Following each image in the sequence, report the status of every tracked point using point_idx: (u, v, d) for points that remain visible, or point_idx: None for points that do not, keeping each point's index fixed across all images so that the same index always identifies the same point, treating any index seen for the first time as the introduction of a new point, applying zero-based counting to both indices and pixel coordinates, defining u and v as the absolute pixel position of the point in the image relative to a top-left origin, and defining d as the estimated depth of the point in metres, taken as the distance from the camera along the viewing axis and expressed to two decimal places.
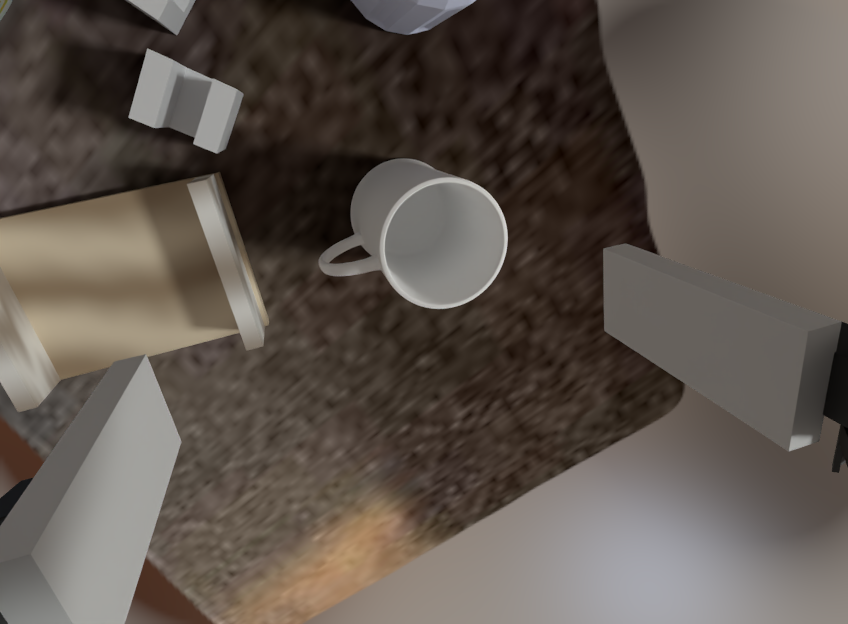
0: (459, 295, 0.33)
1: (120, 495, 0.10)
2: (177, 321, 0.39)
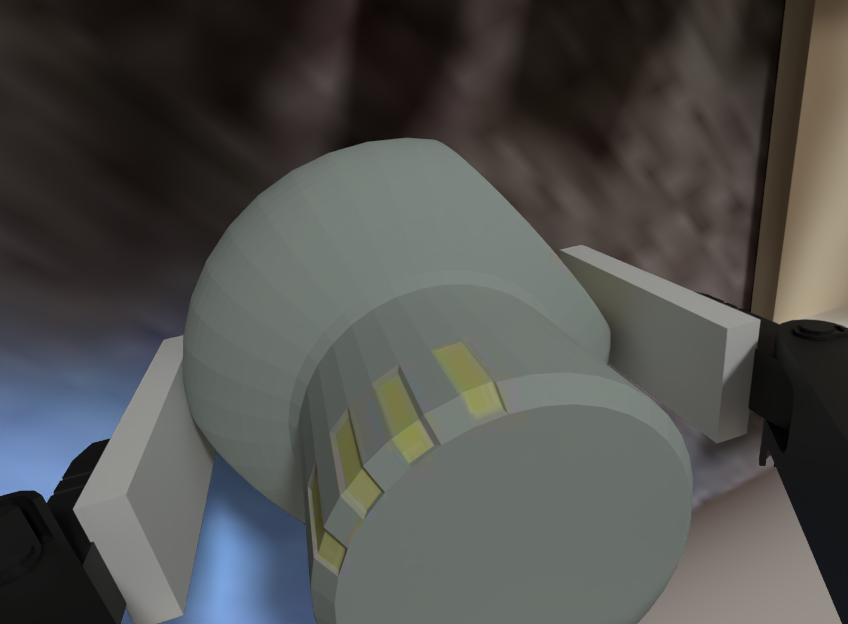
0: None
1: (182, 456, 0.11)
2: None
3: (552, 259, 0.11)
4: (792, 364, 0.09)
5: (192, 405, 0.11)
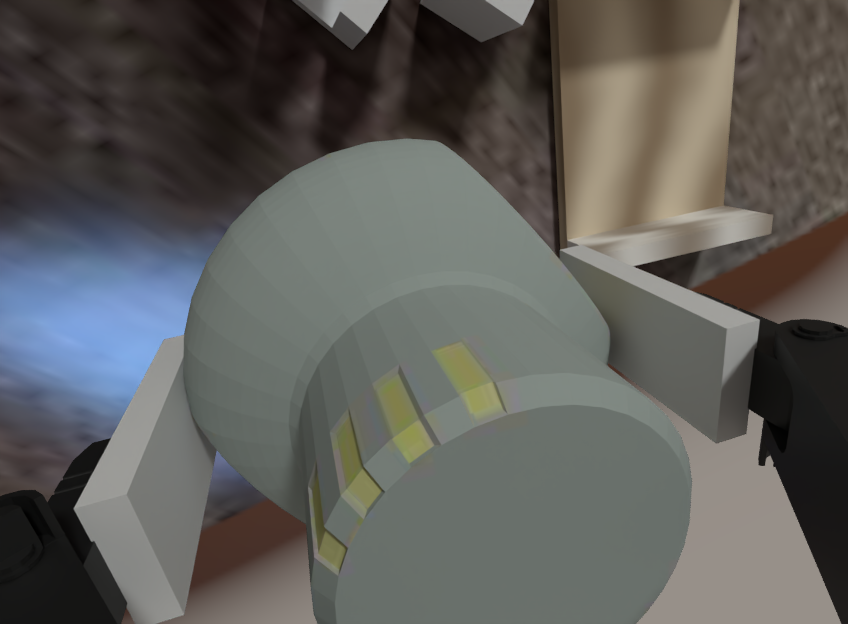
0: None
1: (183, 456, 0.11)
2: (705, 64, 0.32)
3: (552, 260, 0.11)
4: (791, 363, 0.09)
5: (193, 405, 0.11)
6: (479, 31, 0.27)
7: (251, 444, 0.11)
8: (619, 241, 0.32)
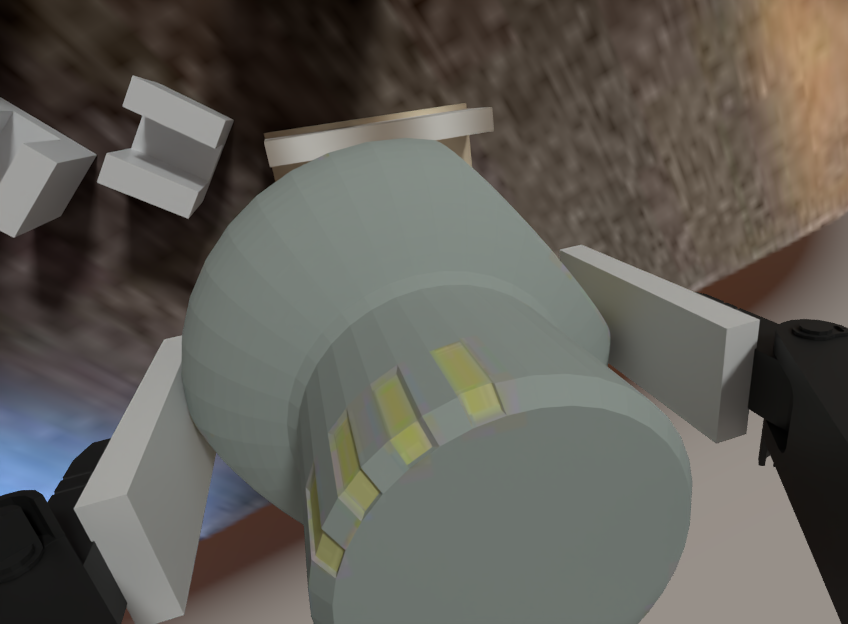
0: None
1: (183, 456, 0.11)
2: None
3: (551, 260, 0.11)
4: (792, 363, 0.09)
5: (191, 405, 0.11)
6: None
7: (249, 445, 0.11)
8: None
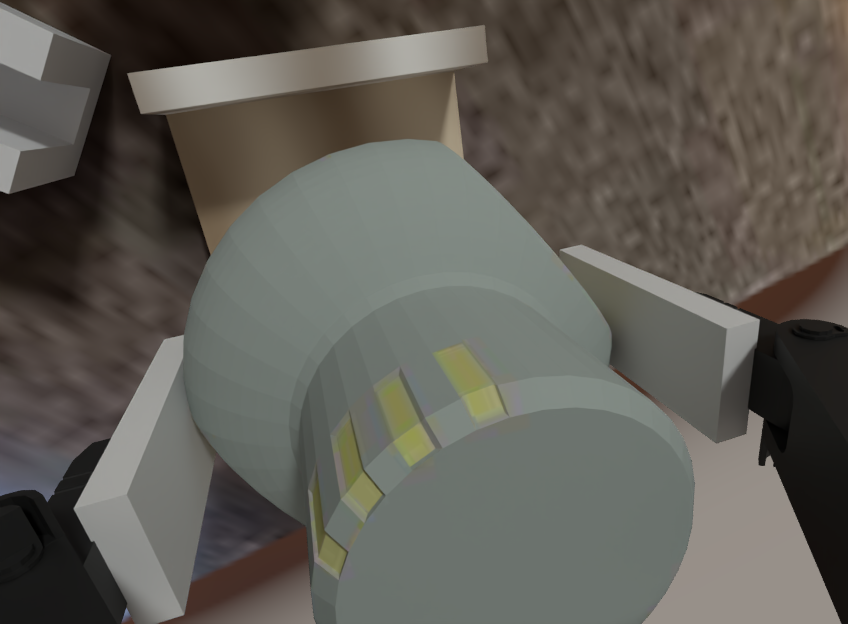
0: None
1: (183, 456, 0.11)
2: None
3: (553, 261, 0.11)
4: (791, 363, 0.09)
5: (192, 406, 0.11)
6: None
7: (251, 446, 0.11)
8: None
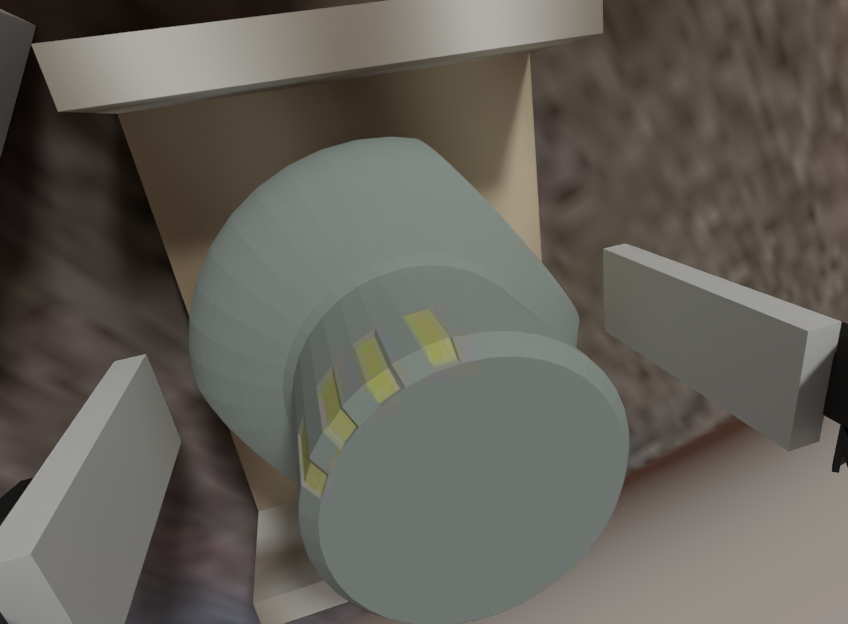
0: None
1: (120, 495, 0.10)
2: None
3: (520, 245, 0.12)
4: None
5: (197, 376, 0.13)
6: None
7: (249, 409, 0.12)
8: None
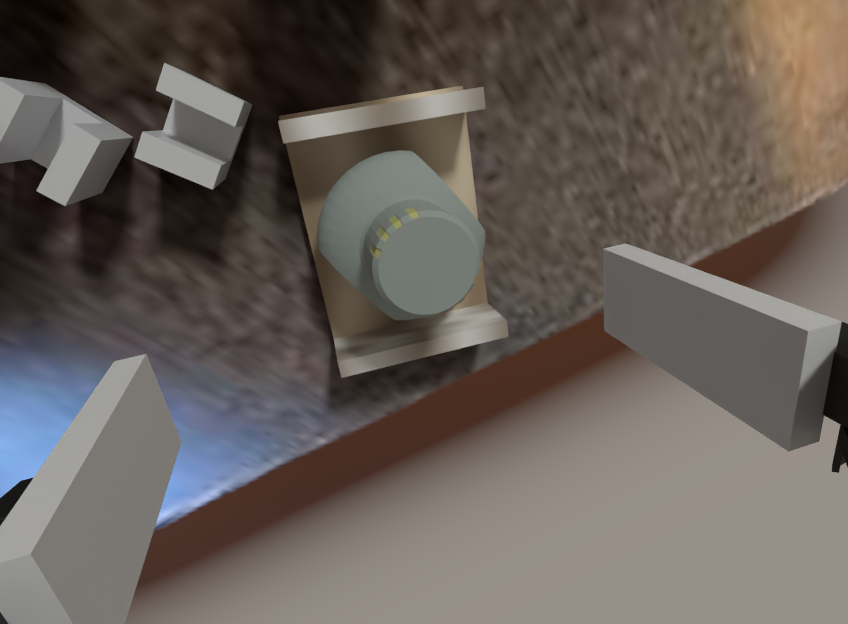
0: None
1: (120, 495, 0.10)
2: None
3: (452, 193, 0.30)
4: None
5: (322, 247, 0.31)
6: None
7: (345, 257, 0.30)
8: (367, 345, 0.36)
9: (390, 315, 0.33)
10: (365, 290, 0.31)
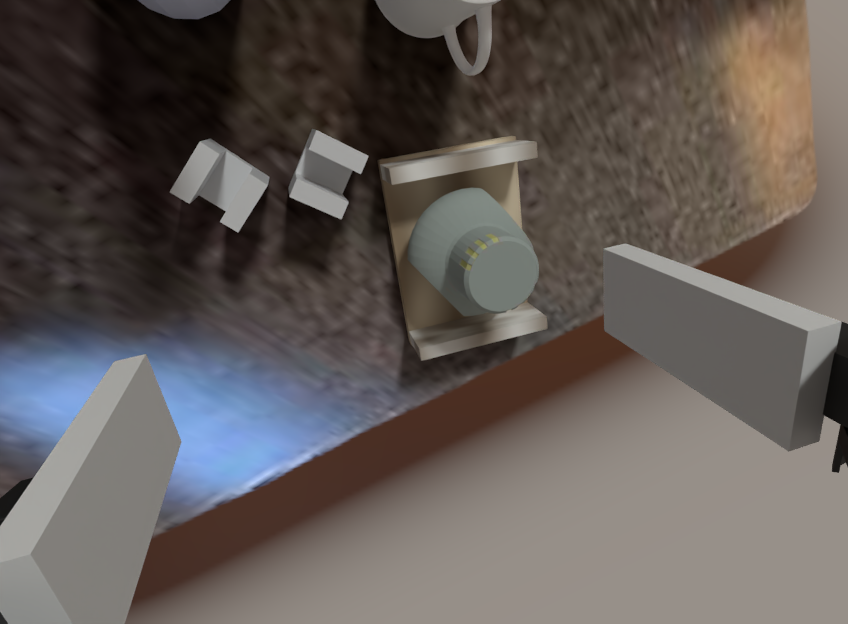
0: None
1: (120, 495, 0.10)
2: None
3: (512, 221, 0.41)
4: None
5: (414, 261, 0.41)
6: None
7: (433, 269, 0.40)
8: (439, 336, 0.46)
9: (461, 312, 0.43)
10: (446, 293, 0.41)
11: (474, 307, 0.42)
